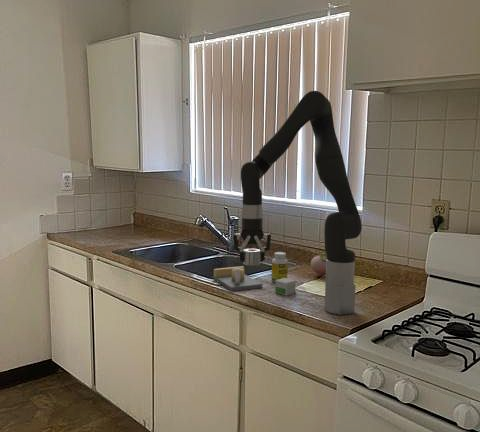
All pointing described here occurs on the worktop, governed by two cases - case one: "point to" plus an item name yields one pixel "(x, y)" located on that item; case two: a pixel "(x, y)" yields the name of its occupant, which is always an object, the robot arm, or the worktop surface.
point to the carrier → (235, 279)
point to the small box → (285, 286)
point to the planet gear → (252, 256)
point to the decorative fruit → (319, 264)
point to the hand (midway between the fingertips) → (251, 261)
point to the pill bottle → (279, 266)
